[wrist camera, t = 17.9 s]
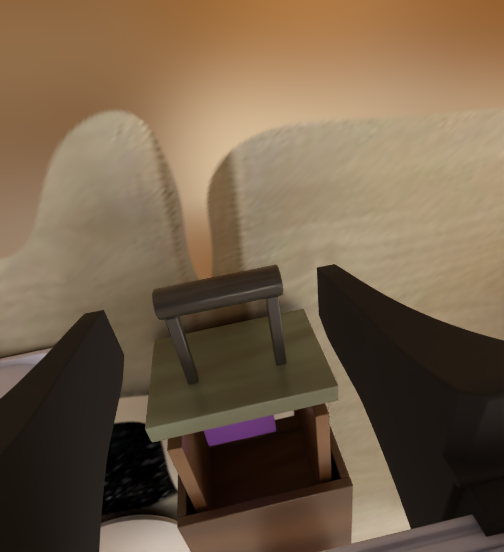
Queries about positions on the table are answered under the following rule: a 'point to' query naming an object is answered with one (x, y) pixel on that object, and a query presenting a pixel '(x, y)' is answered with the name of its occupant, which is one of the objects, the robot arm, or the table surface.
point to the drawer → (240, 392)
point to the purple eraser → (244, 429)
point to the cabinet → (275, 518)
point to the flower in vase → (141, 535)
